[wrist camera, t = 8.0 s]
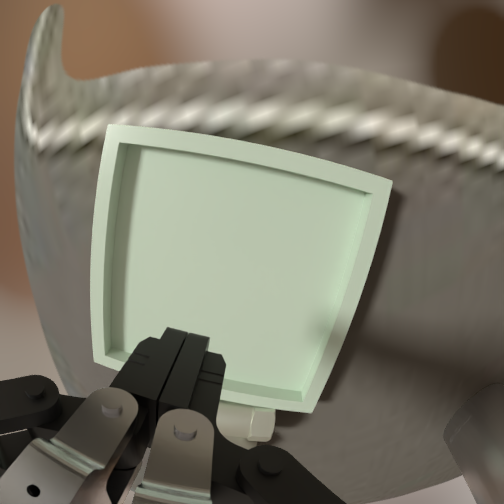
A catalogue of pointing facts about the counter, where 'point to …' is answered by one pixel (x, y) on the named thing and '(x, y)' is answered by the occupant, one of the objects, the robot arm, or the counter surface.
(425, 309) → the counter surface
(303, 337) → the tray
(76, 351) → the counter surface
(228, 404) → the pipe fitting
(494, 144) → the counter surface
